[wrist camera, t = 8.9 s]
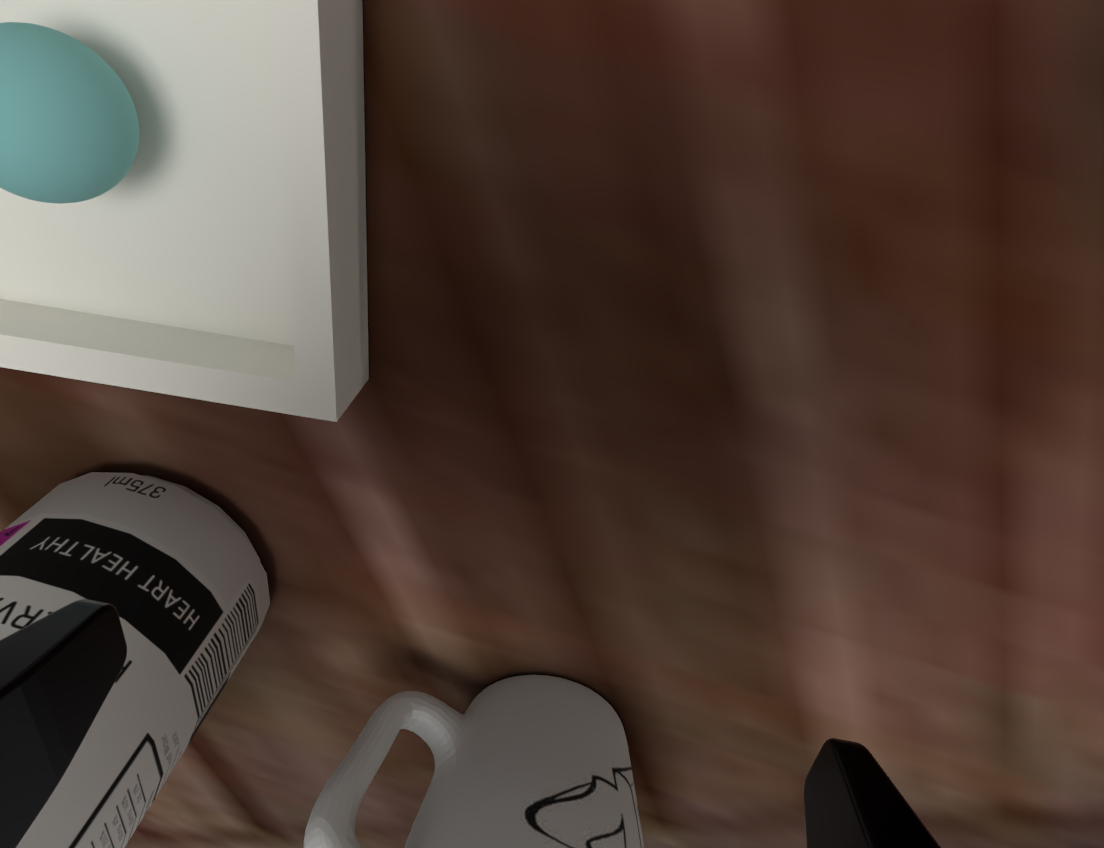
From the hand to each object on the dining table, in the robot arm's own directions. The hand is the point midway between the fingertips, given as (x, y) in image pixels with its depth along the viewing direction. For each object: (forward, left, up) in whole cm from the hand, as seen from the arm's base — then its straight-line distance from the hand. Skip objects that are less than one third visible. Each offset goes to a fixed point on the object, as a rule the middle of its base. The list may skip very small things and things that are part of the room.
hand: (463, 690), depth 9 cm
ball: (+12, -4, -11) cm, 17 cm away
